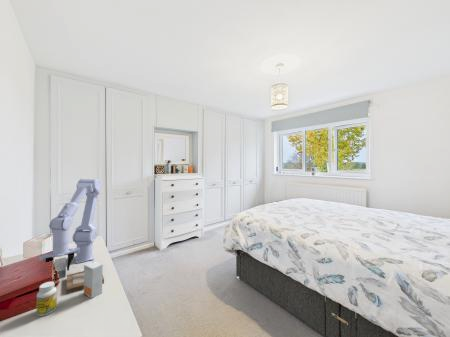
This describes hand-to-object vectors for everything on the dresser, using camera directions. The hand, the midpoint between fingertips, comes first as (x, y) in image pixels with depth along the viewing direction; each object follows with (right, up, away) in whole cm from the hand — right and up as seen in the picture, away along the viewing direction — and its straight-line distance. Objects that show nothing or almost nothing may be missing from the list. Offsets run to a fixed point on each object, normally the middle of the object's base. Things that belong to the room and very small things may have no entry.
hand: (60, 271), depth 94 cm
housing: (0, -2, 0) cm, 2 cm away
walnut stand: (+14, -2, -4) cm, 15 cm away
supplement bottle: (+14, -3, -22) cm, 26 cm away
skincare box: (+23, -3, -12) cm, 26 cm away
